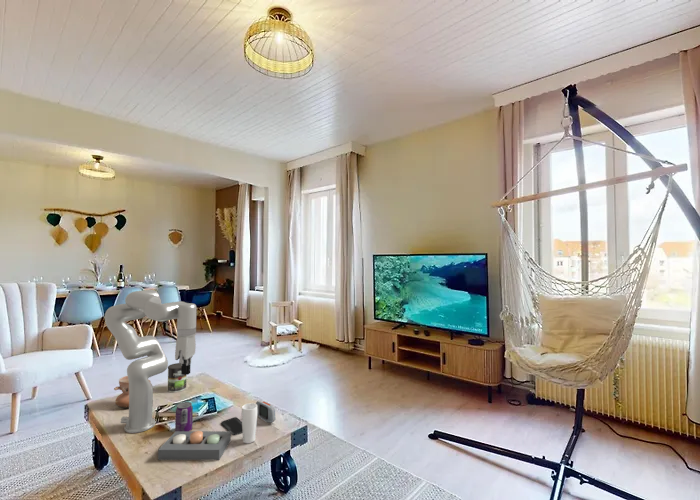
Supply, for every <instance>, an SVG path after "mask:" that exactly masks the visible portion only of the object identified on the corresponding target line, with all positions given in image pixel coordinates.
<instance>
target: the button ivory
mask: <svg viewBox="0 0 700 500" xmlns="http://www.w3.org/2000/svg"><path fill="white" fill-rule="evenodd" d="M185 441H186V435H185V434H179V435H176V436H175V437H173V444H184V442H185Z"/></svg>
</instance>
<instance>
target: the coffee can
mask: <svg viewBox="0 0 700 500" xmlns="http://www.w3.org/2000/svg"><path fill="white" fill-rule="evenodd" d="M186 389H187V375H182V374H181V364H179V362H177V363H176V362H175V363H172V364H168V367H167V392H169V393H180V392H183V391H185V390H186Z"/></svg>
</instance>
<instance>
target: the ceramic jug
mask: <svg viewBox="0 0 700 500" xmlns="http://www.w3.org/2000/svg"><path fill="white" fill-rule="evenodd" d="M148 380H149V381H150V382H151V380H150V379H148ZM151 383H152V382H151ZM118 384H119V386H115V387H114V388H113V390H114V391H117V390H119V391H121V392H122V393H120V394H119V395H118V396H117V397H116V398H115V405H116V406H118V407H119V408H129V380H128V375H124V376H122V377H120V378H119V379H118Z"/></svg>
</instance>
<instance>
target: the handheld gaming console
mask: <svg viewBox="0 0 700 500" xmlns="http://www.w3.org/2000/svg"><path fill="white" fill-rule="evenodd" d="M255 404H257V408H258V413H257V417H258V418H260V419H261V420H262V421H264V422H266V423H273V422H275V421H276V409H275V407H273V406H272V405H271V404H270V403H268V402H266V401H262V400H258V401H256V402H255Z"/></svg>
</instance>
